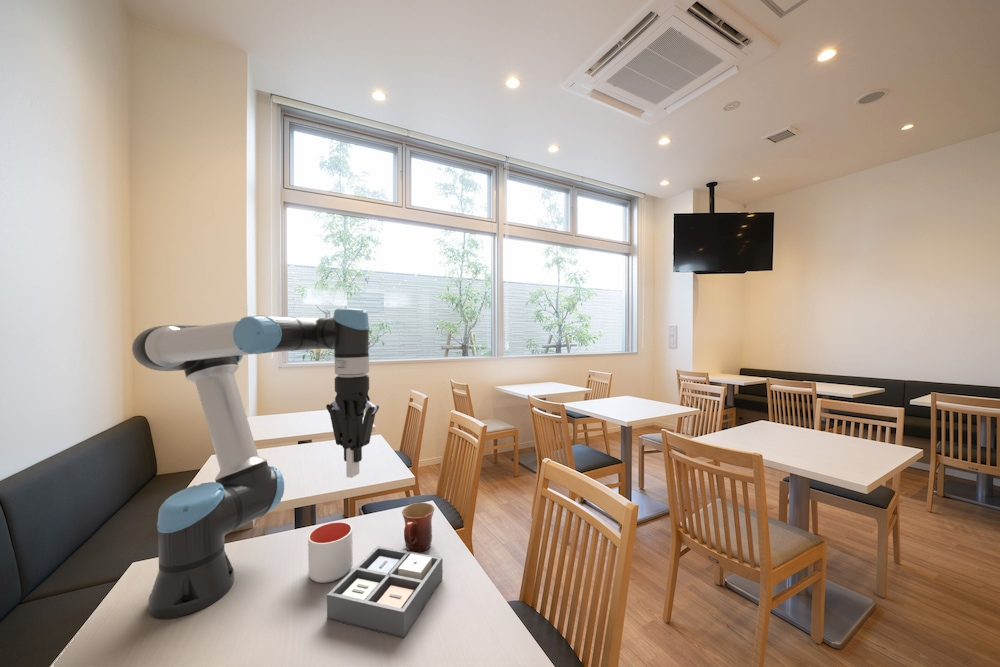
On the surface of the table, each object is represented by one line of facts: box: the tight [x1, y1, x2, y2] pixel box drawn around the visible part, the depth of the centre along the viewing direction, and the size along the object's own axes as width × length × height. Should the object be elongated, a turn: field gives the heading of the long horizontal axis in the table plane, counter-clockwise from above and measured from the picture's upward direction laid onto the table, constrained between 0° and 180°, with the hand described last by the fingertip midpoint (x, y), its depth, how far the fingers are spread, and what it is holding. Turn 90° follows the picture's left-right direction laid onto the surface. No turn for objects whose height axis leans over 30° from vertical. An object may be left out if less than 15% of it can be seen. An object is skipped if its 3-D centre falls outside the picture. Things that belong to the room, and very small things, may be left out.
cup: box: [307, 521, 353, 584], centre depth 93 cm, size 10×10×10 cm
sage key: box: [342, 578, 379, 600], centre depth 81 cm, size 6×6×4 cm
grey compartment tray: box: [326, 545, 443, 639], centre depth 84 cm, size 18×18×5 cm
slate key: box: [367, 556, 400, 573], centre depth 89 cm, size 6×6×4 cm
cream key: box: [398, 554, 432, 580], centre depth 87 cm, size 6×6×4 cm
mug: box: [401, 502, 435, 553], centre depth 102 cm, size 12×9×10 cm
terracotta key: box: [377, 585, 414, 608], centre depth 79 cm, size 6×6×4 cm
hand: (353, 475), depth 87 cm, fingers closed
